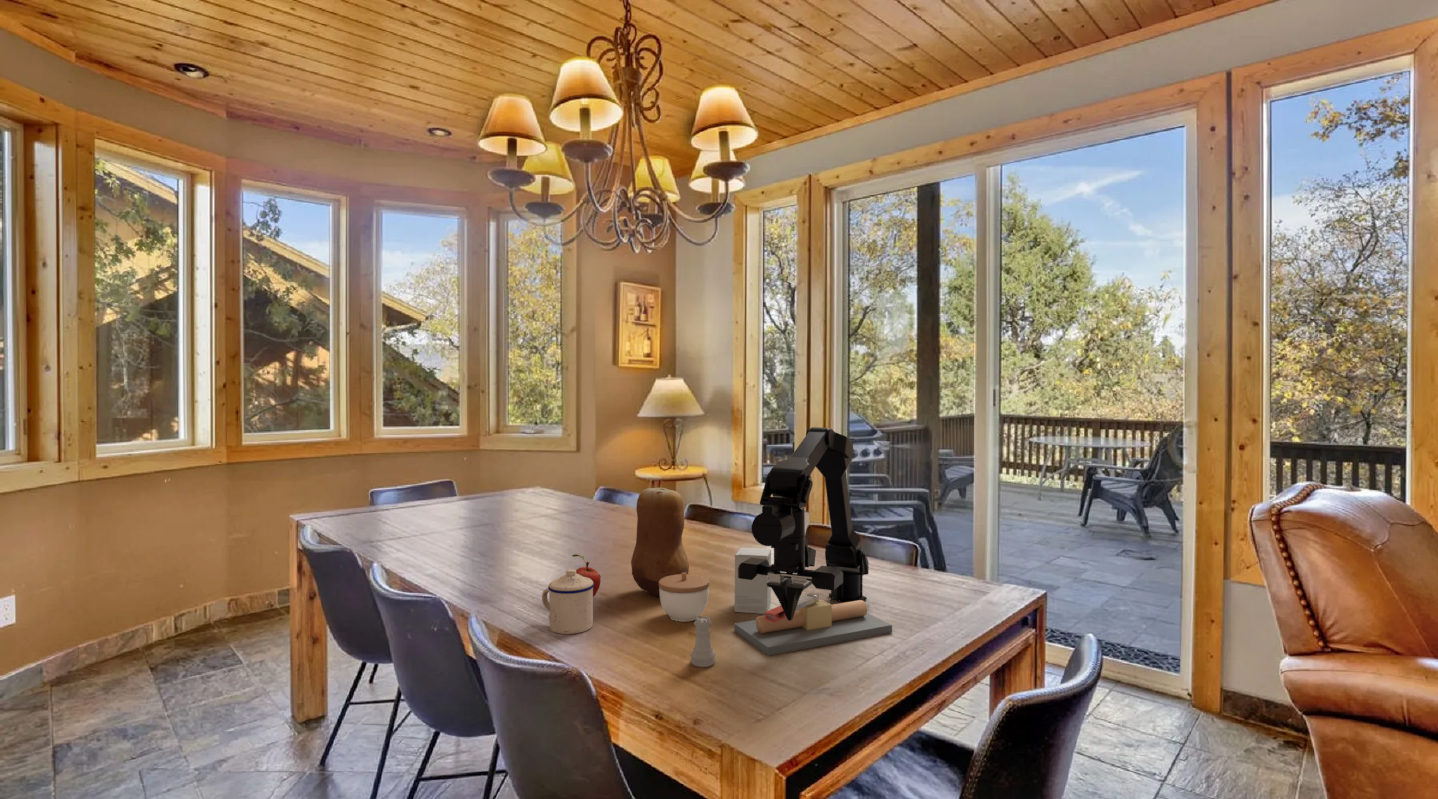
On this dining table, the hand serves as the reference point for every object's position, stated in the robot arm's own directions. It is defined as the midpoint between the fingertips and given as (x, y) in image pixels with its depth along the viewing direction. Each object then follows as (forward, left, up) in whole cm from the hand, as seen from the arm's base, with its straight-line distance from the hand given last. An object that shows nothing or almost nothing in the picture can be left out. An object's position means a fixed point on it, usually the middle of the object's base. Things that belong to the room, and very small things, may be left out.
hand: (790, 619), depth 124 cm
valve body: (-9, -7, -6) cm, 13 cm away
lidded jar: (+11, -26, -6) cm, 29 cm away
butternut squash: (+10, -44, -6) cm, 46 cm away
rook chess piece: (+17, -2, -6) cm, 18 cm away
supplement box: (-5, -25, -6) cm, 27 cm away
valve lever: (-3, -4, 0) cm, 5 cm away
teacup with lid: (+35, -31, -6) cm, 47 cm away
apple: (+27, -48, -6) cm, 55 cm away
